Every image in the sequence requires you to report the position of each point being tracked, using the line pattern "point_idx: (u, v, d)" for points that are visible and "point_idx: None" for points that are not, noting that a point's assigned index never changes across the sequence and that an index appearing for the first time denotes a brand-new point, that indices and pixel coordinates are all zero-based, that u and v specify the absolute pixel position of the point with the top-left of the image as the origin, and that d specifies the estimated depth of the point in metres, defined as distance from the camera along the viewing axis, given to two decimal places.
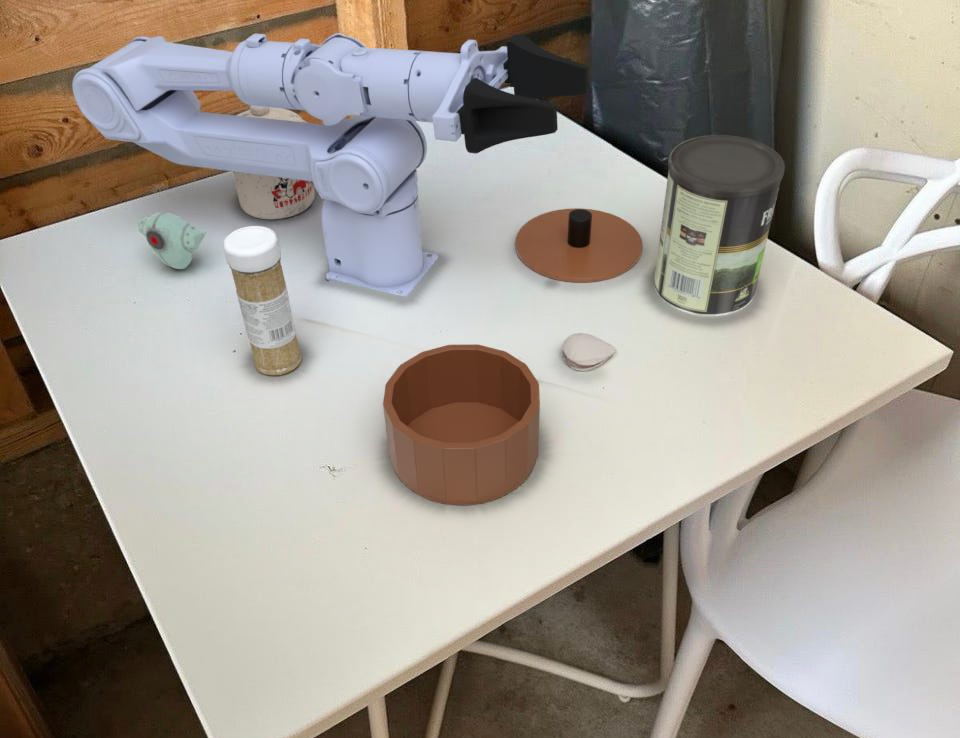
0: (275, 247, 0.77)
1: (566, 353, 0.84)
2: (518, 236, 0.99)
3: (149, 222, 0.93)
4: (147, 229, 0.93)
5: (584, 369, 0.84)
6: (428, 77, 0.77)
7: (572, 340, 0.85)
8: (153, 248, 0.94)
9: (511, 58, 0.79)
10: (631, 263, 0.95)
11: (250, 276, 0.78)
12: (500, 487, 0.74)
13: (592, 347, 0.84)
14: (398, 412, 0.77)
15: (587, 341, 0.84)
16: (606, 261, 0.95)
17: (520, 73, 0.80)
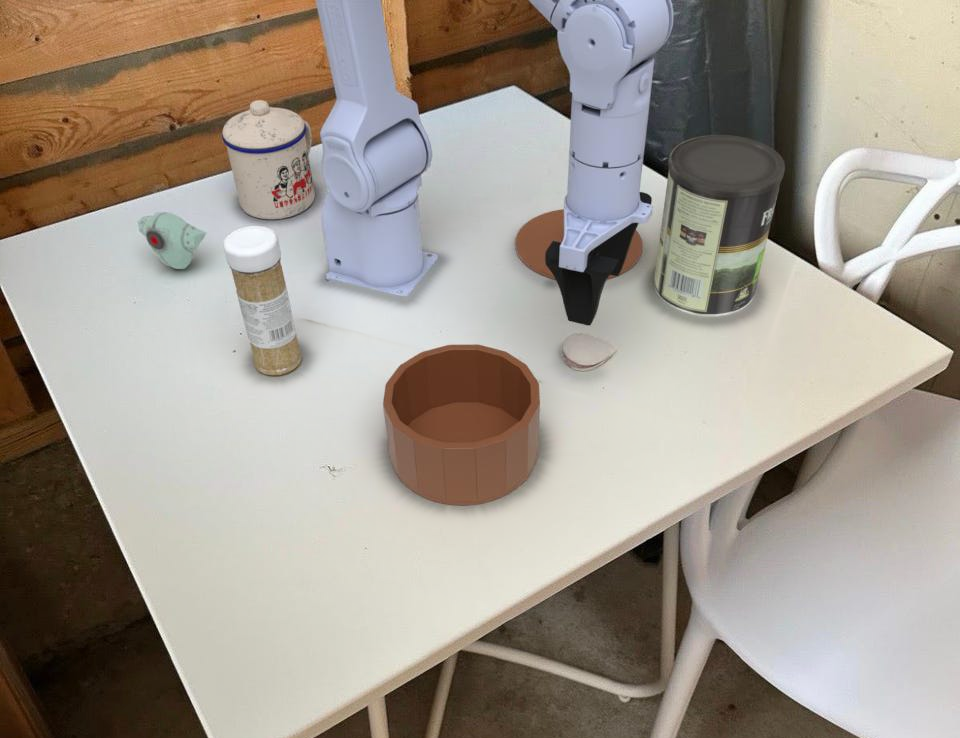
0: (275, 247, 0.77)
1: (566, 353, 0.84)
2: (518, 236, 0.99)
3: (149, 222, 0.93)
4: (147, 229, 0.93)
5: (584, 369, 0.84)
6: (618, 189, 0.70)
7: (572, 340, 0.85)
8: (153, 248, 0.94)
9: None
10: (631, 263, 0.95)
11: (250, 276, 0.78)
12: (500, 487, 0.74)
13: (592, 347, 0.84)
14: (398, 412, 0.77)
15: (587, 341, 0.84)
16: None
17: None
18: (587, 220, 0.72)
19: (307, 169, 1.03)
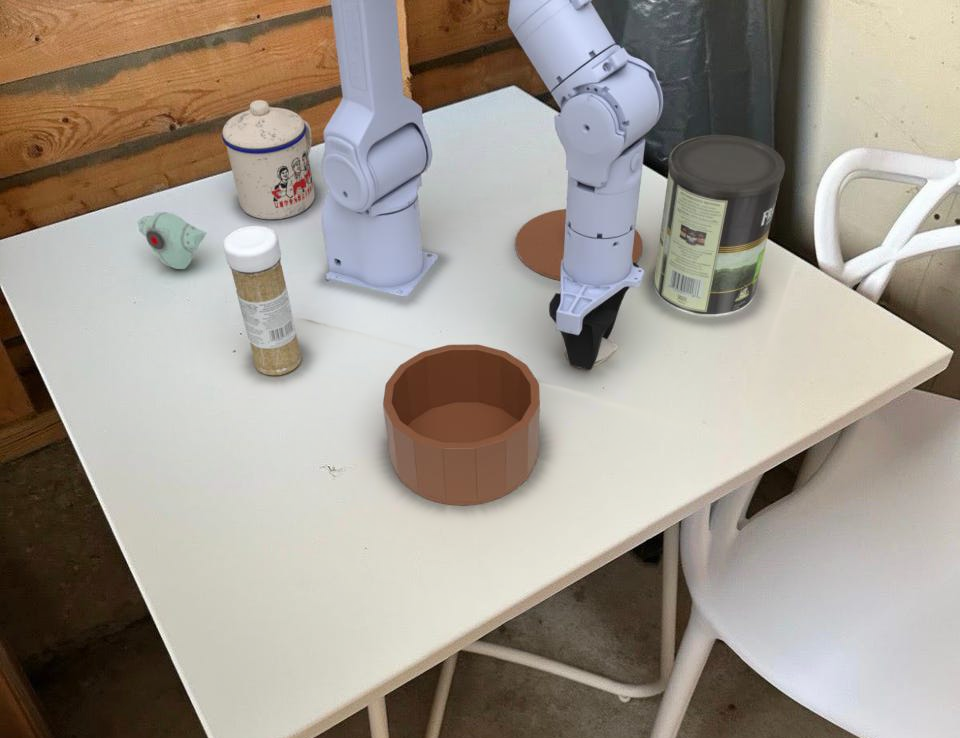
0: (275, 247, 0.77)
1: None
2: (518, 236, 0.99)
3: (149, 222, 0.93)
4: (147, 229, 0.93)
5: None
6: (611, 257, 0.75)
7: None
8: (153, 248, 0.94)
9: None
10: None
11: (250, 276, 0.78)
12: (500, 487, 0.74)
13: None
14: (398, 412, 0.77)
15: None
16: None
17: None
18: (582, 284, 0.77)
19: (307, 169, 1.03)
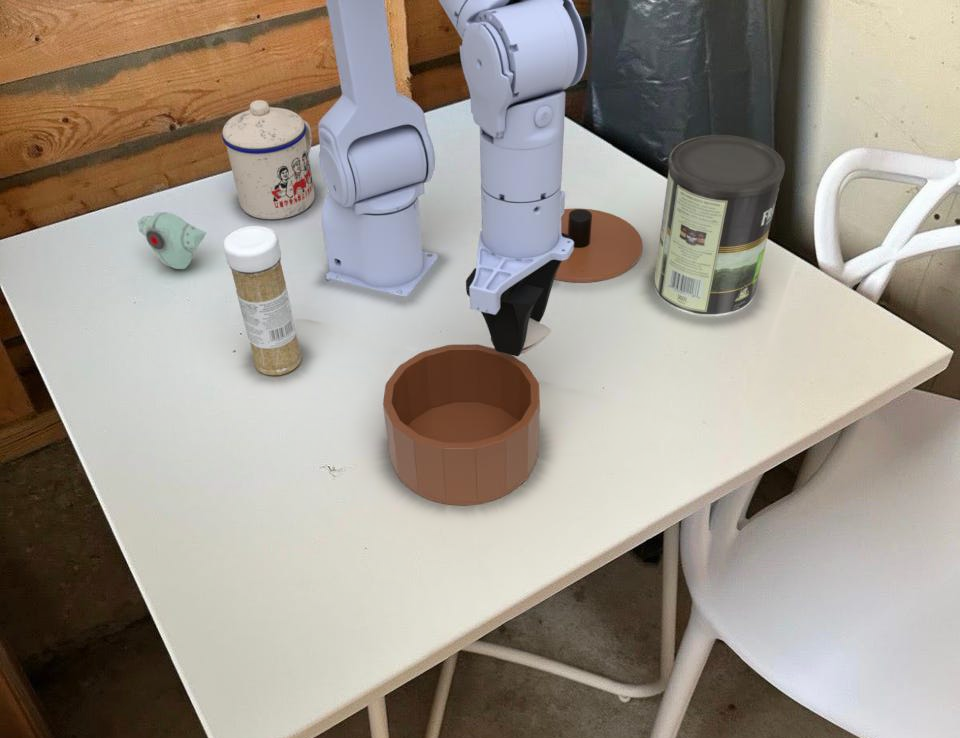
0: (275, 247, 0.77)
1: None
2: None
3: (149, 222, 0.93)
4: (147, 229, 0.93)
5: None
6: (533, 225, 0.65)
7: None
8: (153, 248, 0.94)
9: None
10: (631, 263, 0.95)
11: (250, 276, 0.78)
12: (500, 487, 0.74)
13: None
14: (398, 412, 0.77)
15: None
16: (606, 261, 0.95)
17: None
18: (502, 257, 0.67)
19: (307, 169, 1.03)
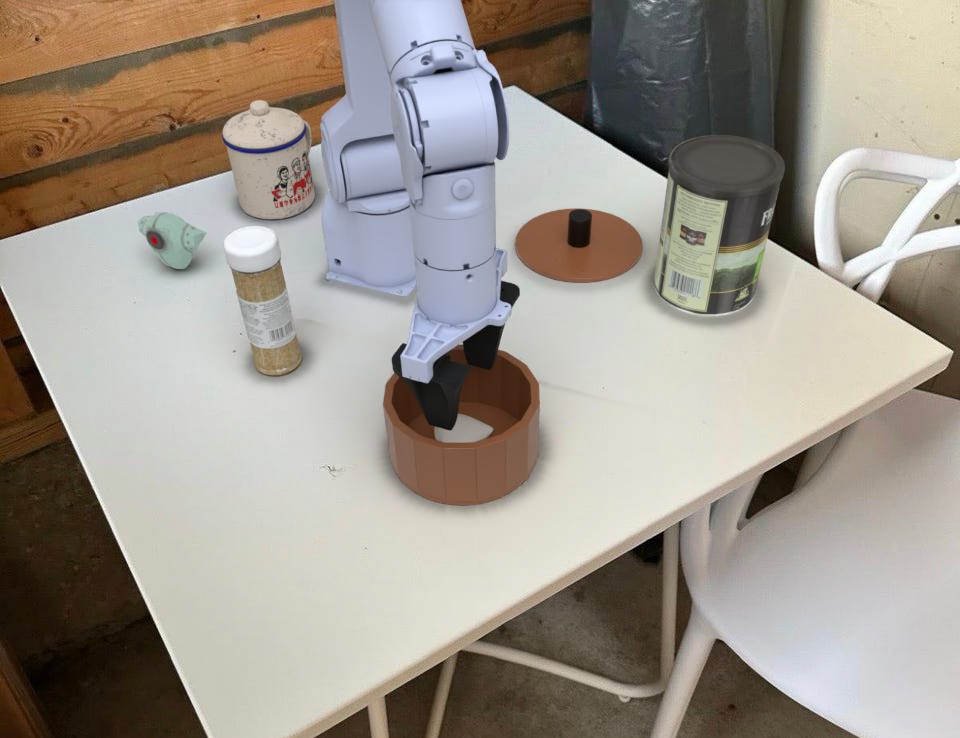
0: (275, 247, 0.77)
1: (438, 439, 0.76)
2: (518, 236, 0.99)
3: (149, 222, 0.93)
4: (147, 229, 0.93)
5: None
6: (466, 292, 0.63)
7: None
8: (153, 248, 0.94)
9: None
10: (631, 263, 0.95)
11: (250, 276, 0.78)
12: (500, 487, 0.74)
13: (466, 430, 0.76)
14: (398, 412, 0.77)
15: (460, 424, 0.77)
16: (606, 261, 0.95)
17: None
18: (436, 323, 0.65)
19: (307, 169, 1.03)
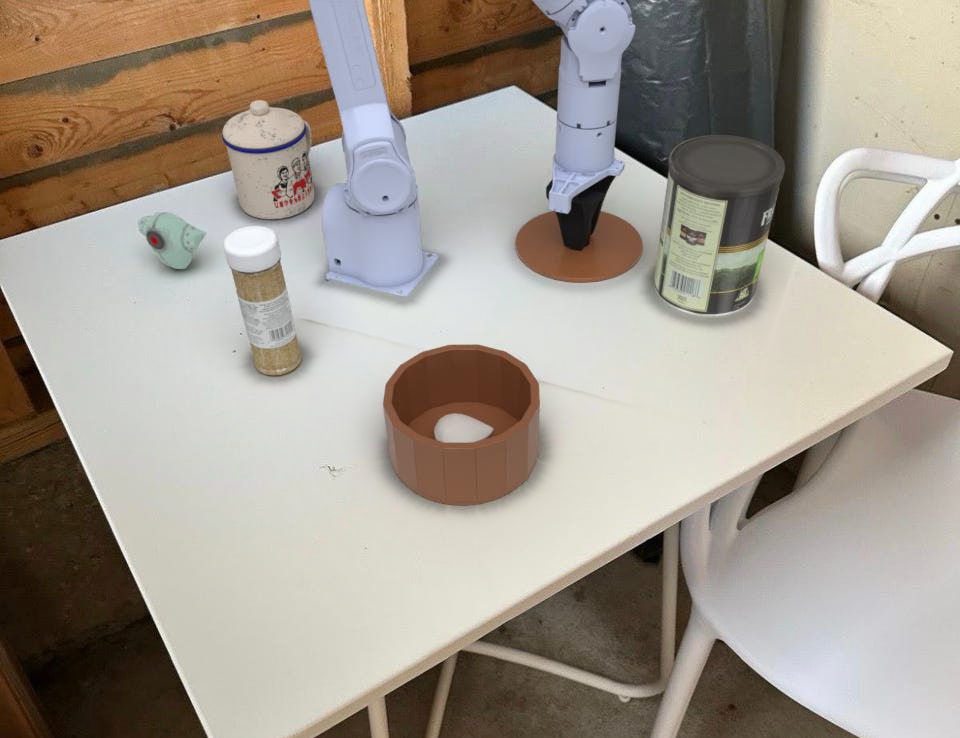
0: (275, 247, 0.77)
1: (438, 439, 0.76)
2: (518, 236, 0.99)
3: (149, 222, 0.93)
4: (147, 229, 0.93)
5: None
6: (596, 147, 0.87)
7: (443, 423, 0.77)
8: (153, 248, 0.94)
9: None
10: (631, 263, 0.95)
11: (250, 276, 0.78)
12: (500, 487, 0.74)
13: (466, 430, 0.76)
14: (398, 412, 0.77)
15: (460, 424, 0.77)
16: (606, 261, 0.96)
17: None
18: (571, 172, 0.89)
19: (307, 169, 1.03)
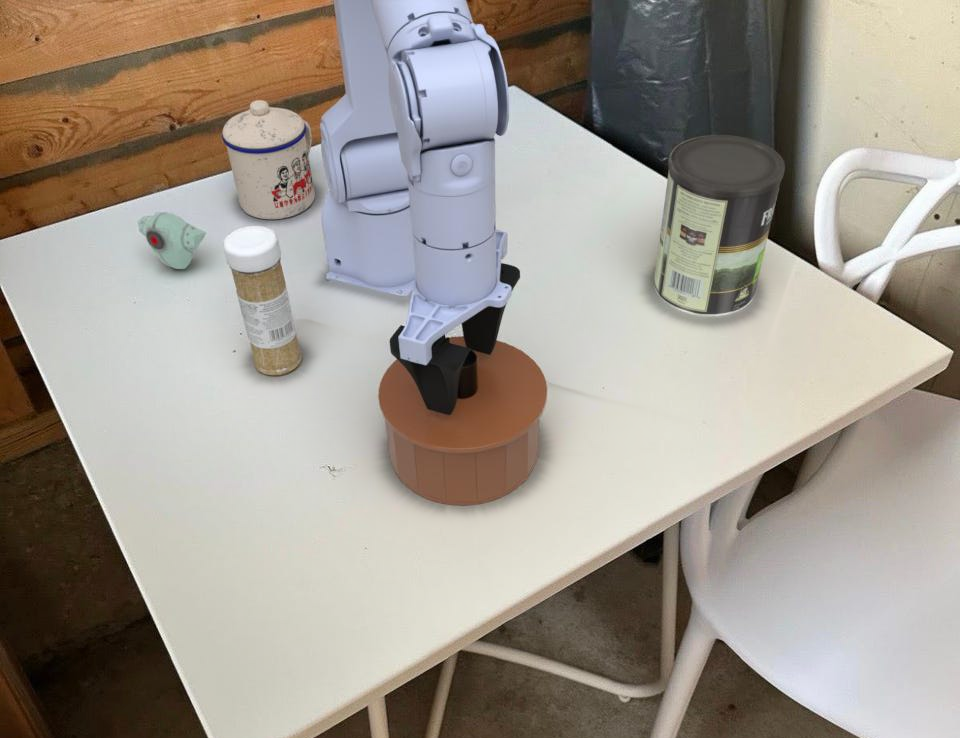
0: (275, 247, 0.77)
1: None
2: (383, 380, 0.74)
3: (149, 222, 0.93)
4: (147, 229, 0.93)
5: None
6: (465, 272, 0.62)
7: None
8: (153, 248, 0.94)
9: None
10: (529, 424, 0.71)
11: (250, 276, 0.78)
12: (500, 487, 0.74)
13: None
14: None
15: None
16: (495, 420, 0.71)
17: None
18: (435, 304, 0.64)
19: (307, 169, 1.03)
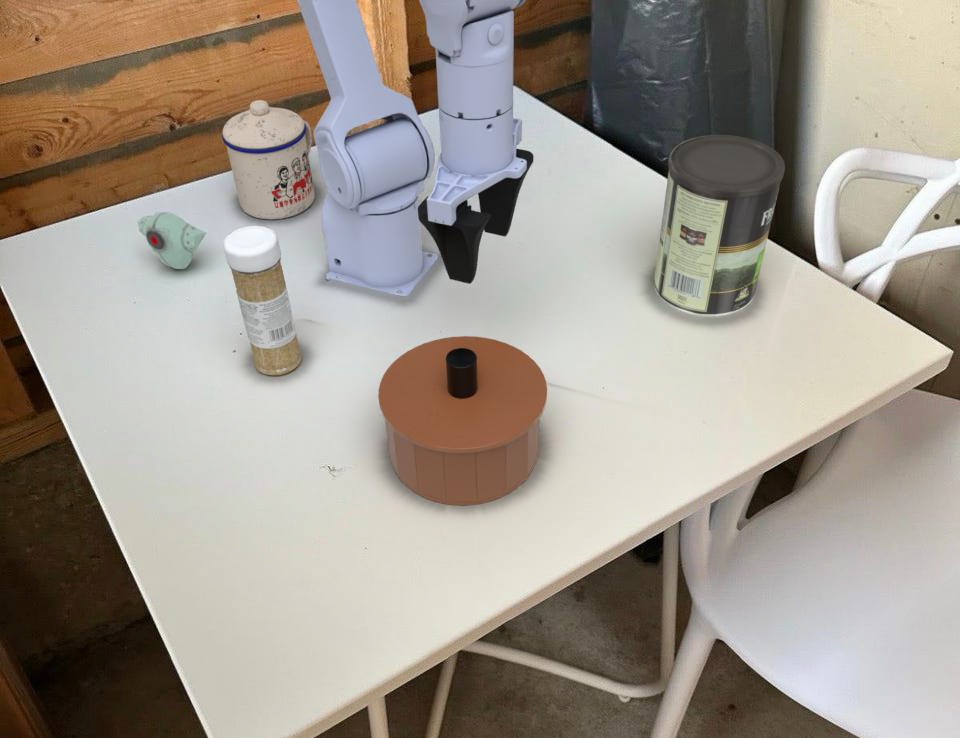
0: (275, 247, 0.77)
1: None
2: (383, 380, 0.74)
3: (149, 222, 0.93)
4: (147, 229, 0.93)
5: None
6: (486, 142, 0.70)
7: None
8: (153, 248, 0.94)
9: None
10: (529, 424, 0.71)
11: (250, 276, 0.78)
12: (500, 487, 0.74)
13: None
14: None
15: None
16: (495, 420, 0.71)
17: None
18: (458, 174, 0.72)
19: (307, 169, 1.03)
